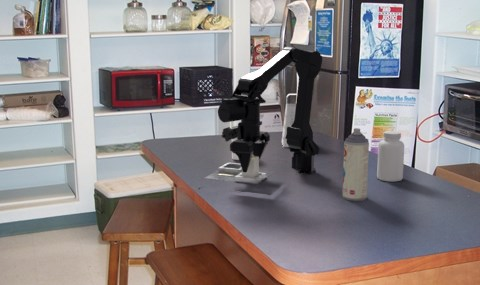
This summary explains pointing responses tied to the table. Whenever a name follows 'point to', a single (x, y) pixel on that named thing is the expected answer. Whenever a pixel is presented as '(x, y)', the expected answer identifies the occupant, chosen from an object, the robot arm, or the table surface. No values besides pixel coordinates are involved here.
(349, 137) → the aerosol can
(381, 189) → the table surface
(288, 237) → the table surface
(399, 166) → the pill bottle
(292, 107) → the grater
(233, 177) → the panel
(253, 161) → the plug
